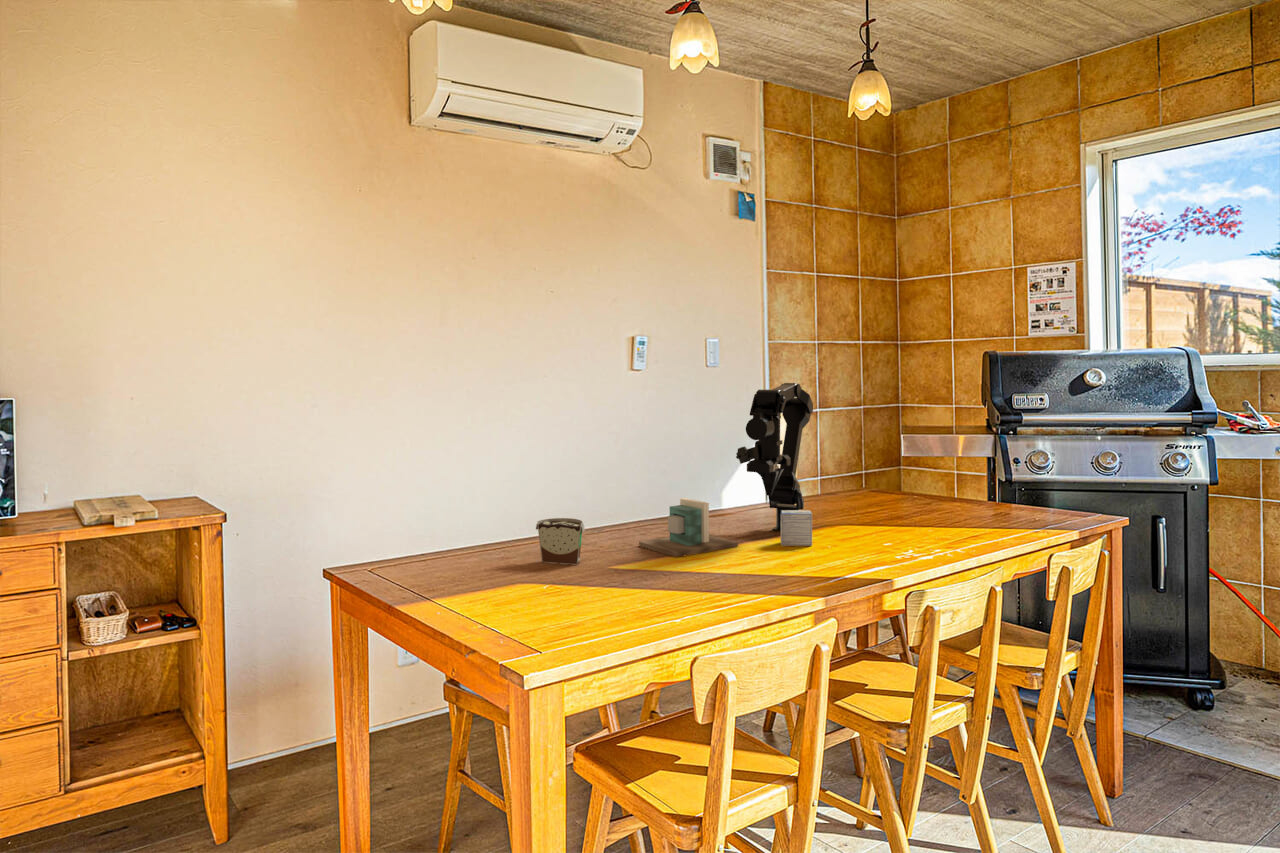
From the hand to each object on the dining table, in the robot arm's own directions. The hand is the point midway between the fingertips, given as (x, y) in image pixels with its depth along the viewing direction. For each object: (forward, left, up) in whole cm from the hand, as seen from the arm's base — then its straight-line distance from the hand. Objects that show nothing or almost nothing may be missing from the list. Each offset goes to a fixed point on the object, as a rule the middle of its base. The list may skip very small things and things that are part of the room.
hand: (769, 495), depth 226 cm
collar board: (+15, -16, -12) cm, 25 cm away
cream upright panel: (+17, -17, -10) cm, 26 cm away
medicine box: (+2, +8, -12) cm, 15 cm away
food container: (+43, -37, -12) cm, 58 cm away
